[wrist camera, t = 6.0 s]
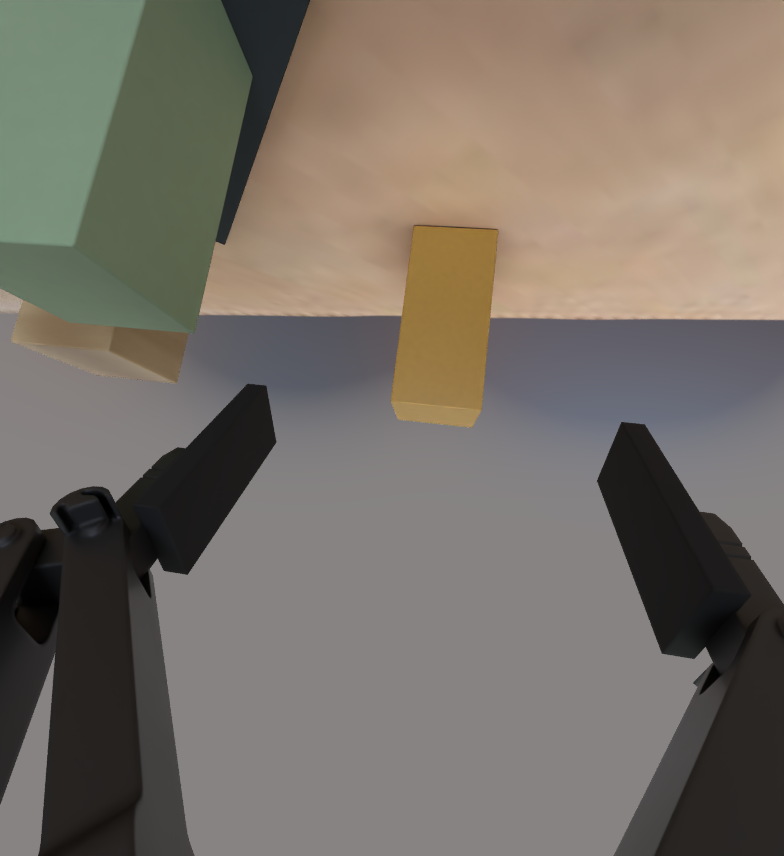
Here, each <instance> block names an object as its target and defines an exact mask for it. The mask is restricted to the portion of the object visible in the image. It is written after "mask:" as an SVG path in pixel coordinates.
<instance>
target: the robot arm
mask: <svg viewBox="0 0 784 856" xmlns="http://www.w3.org/2000/svg"><path fill="white" fill-rule="evenodd" d="M275 444H276V438H275V432H274V427H273V421H272V415H271V410H270V404H269V399H268V393H267V387H266V386H264V385H255V384H247V385H246V386H245V387H244V388H243V389H242V390H241V391H240V392H239V394H238V395H237V396H236V397H235V398H234V399H233V400H232V401H231V402H230V403H229V404H228V405H227V406H226V407H225V408H224V409H223V410H222V411H221V412H220V413H219V414H218V416H216V418H214V419H213V421H212V422H211V423H210V424H209V425H208V426H207V427H206V428H205V429H204V430H203V431H202V432H201V433H200V434H199V435H198V436H197V437H196V438H195V439H194V440H193V442H191V444H190V445H189V446H188V447H187V448H176V449H174V450H172V451H170V452H169V453H167V454H165V455H163V456H162V457H161V458H160V459H159V460H158V461H157V462H156V463H155V464H154V465H153V466H152V469H149V470H148V471H147V472H146V473H145V474H144V475H143V478H140V479H139V480H138V481H137V482H136V483H135V484H134V485H133V486H132V487H131V488H130V489H129V490H128V491H127V492H126V493H125V494H124V495H123V496H122V497H121V498H120V499H119V500H118V501H117V502H116V503H115V501H114V499H113V497H112V495H111V494H110V492H109V490H108V489H106V488H103V487H87V488H82V489H79V490H77V491H74V492H72V493H70V494H68V495H66V496H65V497H63V498H61V499H60V500H59V501H58V502H57V503H56V504H55V505H54V506H53V507H52V510H51V512H50V515H51V516H52V518H53V519H54V521H55V522H56V524H57V525H58V527H59V528H56V529H47V530H40V528H39V527H38V525H37V524H36V523H35V521H34V520H32V519H29V518H16V519H13V520H9V521H5V522H3V523H0V804H1V801H2V798H3V795H4V793H5V790H6V787H7V784H8V782H9V779H10V776H11V773H12V771H13V768H14V765H15V762H16V759H17V757H18V754H19V751H20V749H21V746H22V743H23V740H24V737H25V735H26V732H27V729H28V726H29V723H30V721H31V718H32V715H33V713H34V710H35V707H36V704H37V701H38V698H39V696H40V693H41V690H42V688H43V685H44V682H45V679H46V676H47V674H48V671H49V668H50V666H51V663H52V660H53V657H54V654H55V664H54V678H53V691H52V703H51V717H50V729H49V743H48V755H47V768H46V782H45V795H44V808H43V821H42V834H41V844H40V851H39V855H38V856H194V853H193V850H192V848H191V845H190V842H189V838H188V834H187V828H186V821H185V814H184V806H183V799H182V791H181V784H180V776H179V769H178V761H177V754H176V746H175V739H174V732H173V724H172V716H171V709H170V701H169V694H168V687H167V679H166V671H165V664H164V656H163V649H162V641H161V634H160V627H159V619H158V612H157V604H156V596H155V589H154V582H153V575H152V573H151V571H150V568H151V566H152V565H153V564H154V562H155V561H156V560H157V558H158V560H159V562H160V564H161V566H162V568H163V570H164V571H168V572H175V573H180V574H186V575H188V573H189V572H190V570H191V569H192V567H193V566H194V564H195V563H196V561H197V560H198V558H199V557H200V555H201V554H202V552H203V551H204V550H205V548H206V546H207V545H208V543H209V542H210V541H211V539H212V537H213V536H214V535H215V533H216V532H217V530H218V529H219V527H220V525H221V524H222V523H223V521H224V520H225V518H226V517H227V515H228V514H229V512H230V511H231V509H232V508H233V506H234V505H235V503H236V502H237V500H238V498H239V497H240V496H241V494H242V493H243V491H244V490H245V488H246V487H247V485H248V484H249V482H250V481H251V479H252V478H253V476H254V475H255V473H256V472H257V470H258V469H259V467H260V466H261V464H262V463H263V461H264V460H265V458H266V457H267V455H268V454H269V452H270V451H271V450H272V448H273V446H274V445H275ZM597 482H598V485H599V487H600V490H601V493H602V495H603V498H604V501H605V503H606V506H607V508H608V511H609V514H610V517H611V519H612V522H613V525H614V527H615V530H616V532H617V535H618V538H619V541H620V543H621V546H622V548H623V551H624V554H625V556H626V559H627V561H628V564H629V567H630V570H631V572H632V575H633V578H634V580H635V583H636V586H637V588H638V591H639V594H640V596H641V599H642V602H643V604H644V607H645V610H646V612H647V615H648V617H649V620H650V623H651V626H652V628H653V631H654V634H655V636H656V639H657V642H658V644H659V647H660V650H661V652H662V654H668V655H674V656H680V657H686V658H692V659H695V658H696V656H697V655H698V654H699V653H700V652H701V651H702V650H703V649H704V648H705V647H706V648H707V650H708V652H709V655H710V657H711V659H712V661H713V663H712V664H711V665H710V666H709V667H708V668H707V669H706V670H705V671H704V672H703V673H702V674H701V675H700V676H699V677H698V678H697V679H696V680H695V682H694V684H695V685H696V686H698V688H697V690H696V692H695V694H694V696H693V698H692V700H691V702H690V704H689V706H688V708H687V710H686V712H685V714H684V716H683V718H682V720H681V722H680V724H679V726H678V728H677V730H676V732H675V734H674V736H673V738H672V740H671V742H670V744H669V746H668V748H667V750H666V752H665V754H664V756H663V758H662V760H661V762H660V764H659V766H658V768H657V770H656V772H655V774H654V776H653V778H652V780H651V782H650V784H649V786H648V788H647V790H646V792H645V794H644V796H643V798H642V800H641V802H640V804H639V806H638V808H637V810H636V812H635V814H634V816H633V818H632V820H631V822H630V824H629V826H628V828H627V830H626V832H625V834H624V836H623V838H622V840H621V843H620V844H619V846H618V849H617V850H616V852H615V854H614V856H784V604H783V603H782V601H781V600H780V598H779V597H778V596H777V594H776V592H775V591H774V590H773V588H772V587H771V585H770V584H769V582H768V581H767V579H766V578H765V576H764V575H763V573H762V572H761V571H760V569H759V568H758V566H757V565H756V563H755V562H754V560H751V556H750V555H749V553H748V552H747V550H746V549H745V547H742V543H741V541H740V540H739V538H738V537H737V535H736V534H735V533H734V531H733V530H732V528H731V527H729V526H728V525H727V524H726V523H725V522H724V521H722V520H721V519H720V518H719V517H718V516H717V515H715V514H713V513H705V512H699V510H698V509H697V507H696V506H695V504H694V502H693V501H692V499H691V498H690V496H689V494H688V493H687V491H686V490H685V488H684V487H683V485H682V483H681V482H680V480H679V478H678V477H677V475H676V474H675V472H674V470H673V469H672V467H671V466H670V464H669V462H668V461H667V459H666V458H665V456H664V455H663V453H662V451H661V450H660V448H659V446H658V445H657V443H656V442H655V440H654V439H653V437H652V435H651V434H650V432H649V431H648V429H647V427H646V426H645V425H644V424H635V423H624V422H621V425H620V427H619V429H618V432H617V434H616V436H615V439H614V441H613V444H612V446H611V448H610V451H609V453H608V456H607V458H606V461H605V463H604V465H603V468H602V470H601V473H600V475H599V477H598V480H597Z"/></svg>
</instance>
